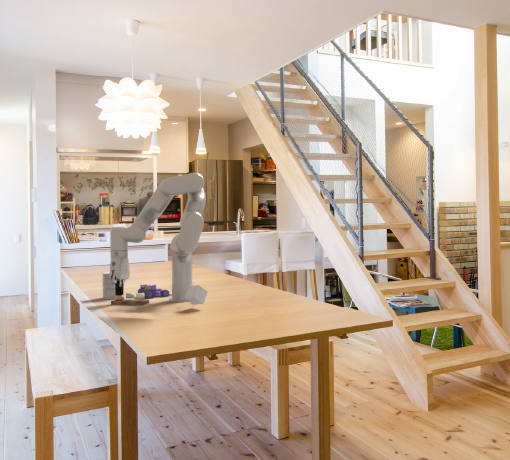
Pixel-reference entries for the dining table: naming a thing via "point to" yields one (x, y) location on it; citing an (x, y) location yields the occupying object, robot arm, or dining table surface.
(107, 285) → the supplement box
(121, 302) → the button plate
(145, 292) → the toy race car
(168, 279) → the dining table surface
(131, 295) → the sage button
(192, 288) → the gray cube
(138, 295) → the cream button
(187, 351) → the dining table surface
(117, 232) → the robot arm
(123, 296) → the terracotta button
